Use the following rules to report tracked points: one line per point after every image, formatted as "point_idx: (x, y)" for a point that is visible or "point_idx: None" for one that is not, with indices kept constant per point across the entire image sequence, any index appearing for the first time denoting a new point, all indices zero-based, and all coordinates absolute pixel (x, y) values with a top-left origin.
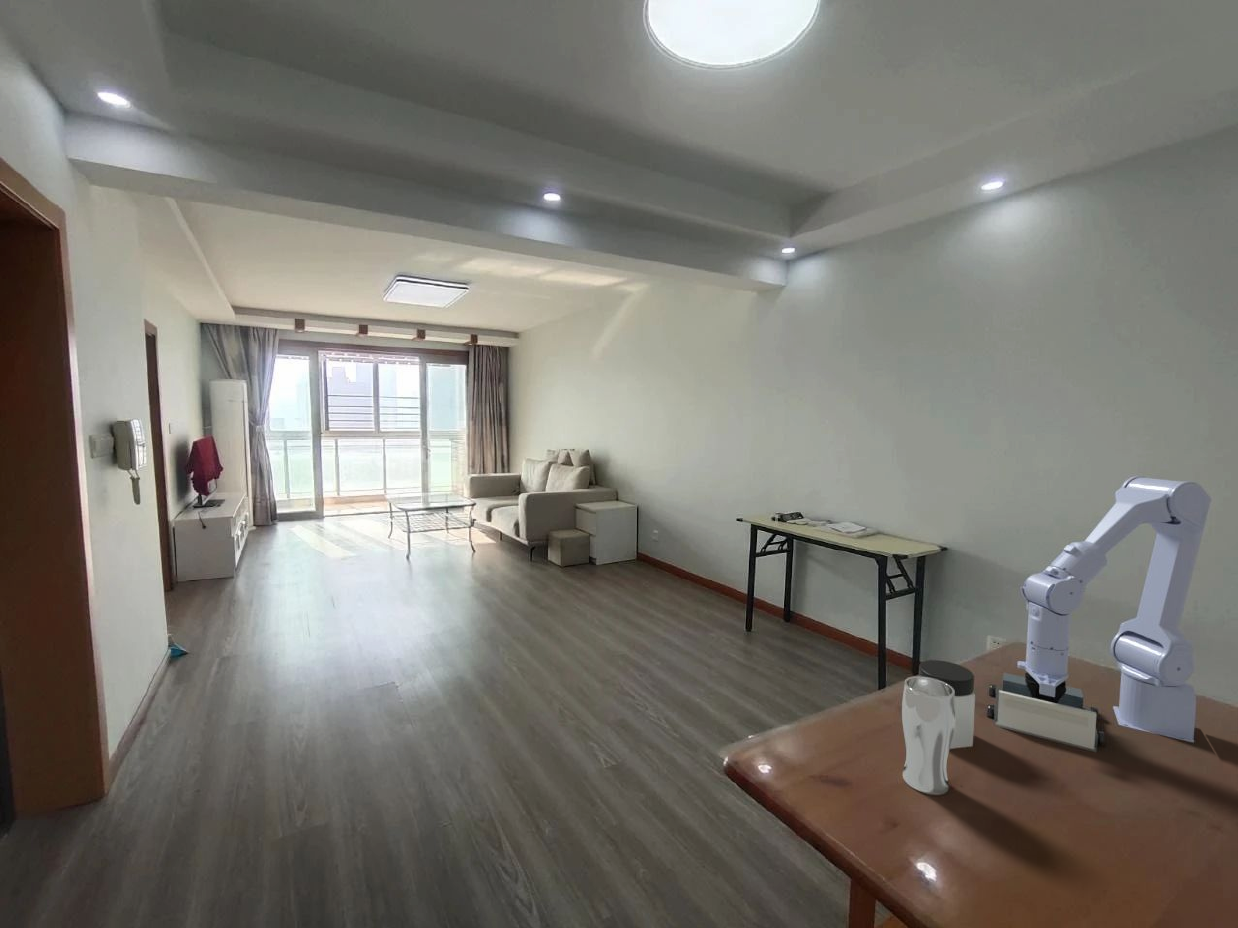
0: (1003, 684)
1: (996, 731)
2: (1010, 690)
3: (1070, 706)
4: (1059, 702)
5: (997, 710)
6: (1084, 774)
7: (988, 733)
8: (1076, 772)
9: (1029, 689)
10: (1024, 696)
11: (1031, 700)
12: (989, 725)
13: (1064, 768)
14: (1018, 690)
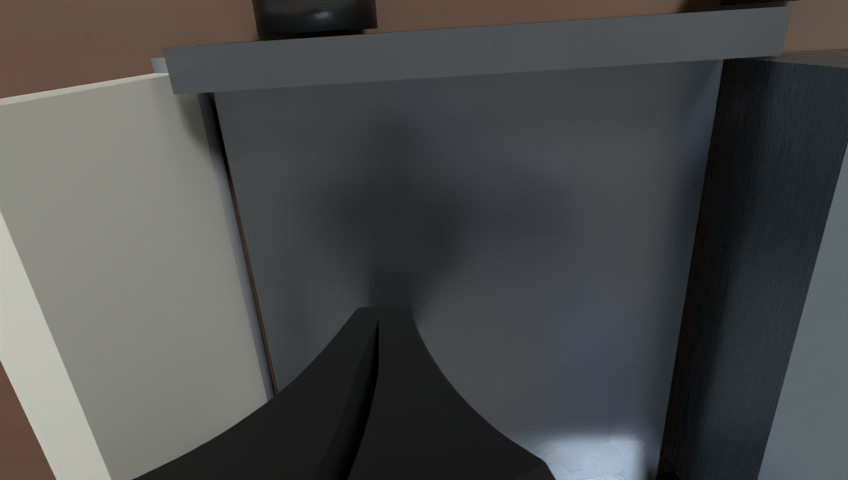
0: (825, 72)
1: (135, 69)
2: (778, 129)
3: (698, 452)
4: (713, 414)
5: (176, 71)
6: (39, 452)
7: (53, 21)
8: (25, 429)
9: (176, 459)
10: (55, 386)
11: (48, 433)
12: (191, 14)
13: (14, 392)
14: (774, 193)
